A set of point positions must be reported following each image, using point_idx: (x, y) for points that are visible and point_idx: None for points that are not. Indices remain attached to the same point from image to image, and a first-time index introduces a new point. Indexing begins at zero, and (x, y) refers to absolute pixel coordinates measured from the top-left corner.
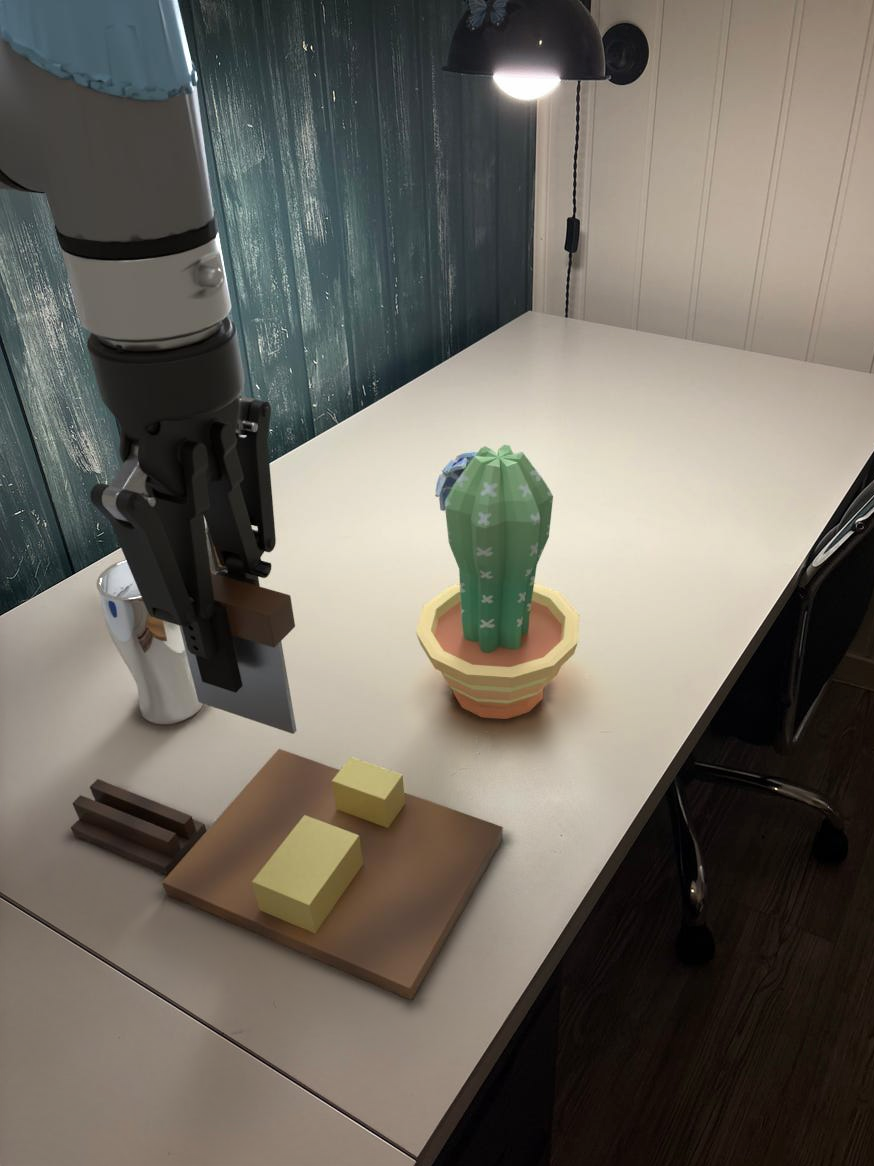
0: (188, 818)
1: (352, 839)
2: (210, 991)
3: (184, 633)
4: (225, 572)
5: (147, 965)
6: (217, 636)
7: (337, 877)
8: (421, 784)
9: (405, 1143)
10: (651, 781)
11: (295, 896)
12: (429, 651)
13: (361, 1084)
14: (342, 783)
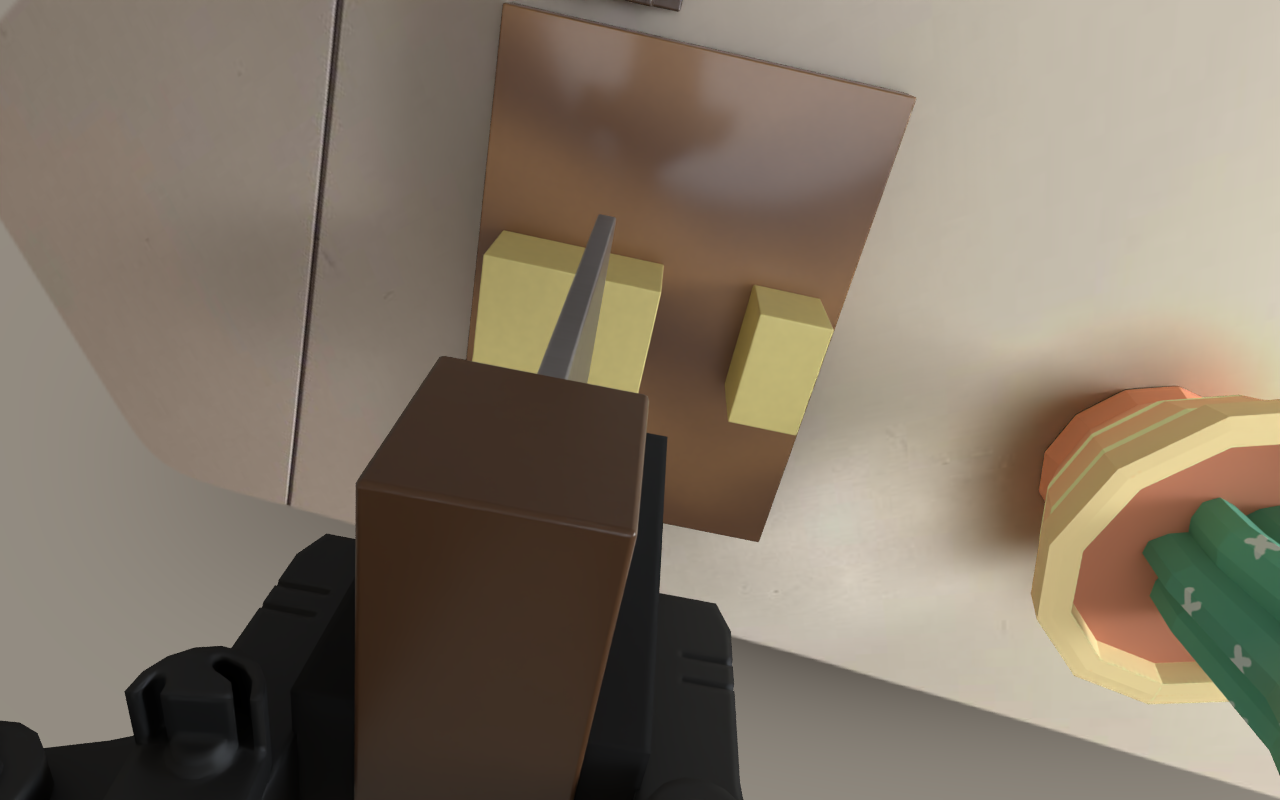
0: (641, 2)
1: None
2: (367, 188)
3: (250, 625)
4: (634, 783)
5: (366, 50)
6: None
7: None
8: (860, 388)
9: (296, 496)
10: (895, 681)
11: (479, 341)
12: (1141, 461)
13: (335, 436)
14: (755, 338)
